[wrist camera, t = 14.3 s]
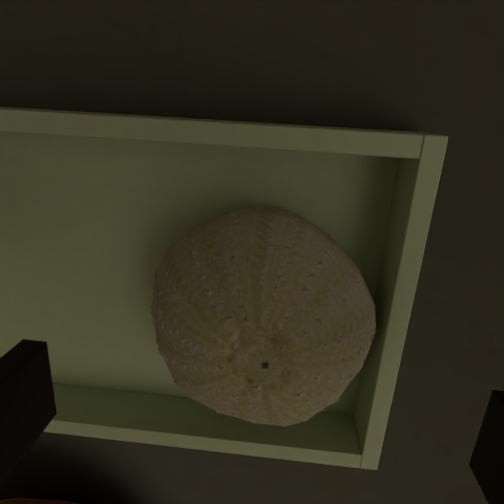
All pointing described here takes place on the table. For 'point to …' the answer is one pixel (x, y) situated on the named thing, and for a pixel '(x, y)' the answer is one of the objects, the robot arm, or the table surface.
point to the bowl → (33, 501)
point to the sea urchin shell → (262, 316)
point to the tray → (175, 229)
